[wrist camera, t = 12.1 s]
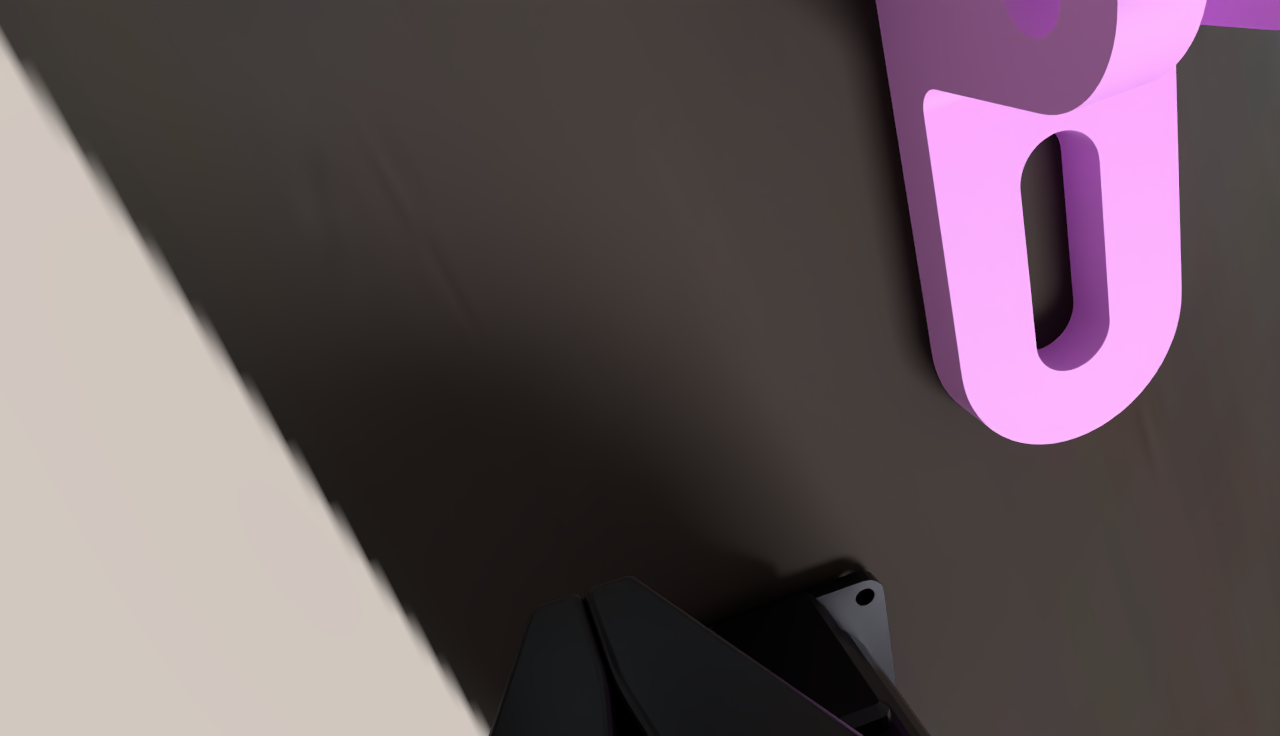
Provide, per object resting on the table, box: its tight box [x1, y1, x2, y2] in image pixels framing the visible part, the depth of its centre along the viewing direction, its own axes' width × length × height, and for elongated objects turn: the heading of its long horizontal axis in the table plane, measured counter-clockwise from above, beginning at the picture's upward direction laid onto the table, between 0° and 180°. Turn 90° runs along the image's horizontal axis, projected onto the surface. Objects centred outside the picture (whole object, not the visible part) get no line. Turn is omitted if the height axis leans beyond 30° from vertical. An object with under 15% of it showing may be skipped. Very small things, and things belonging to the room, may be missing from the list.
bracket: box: [876, 0, 1280, 444], centre depth 18 cm, size 13×6×7 cm, turn 16°
